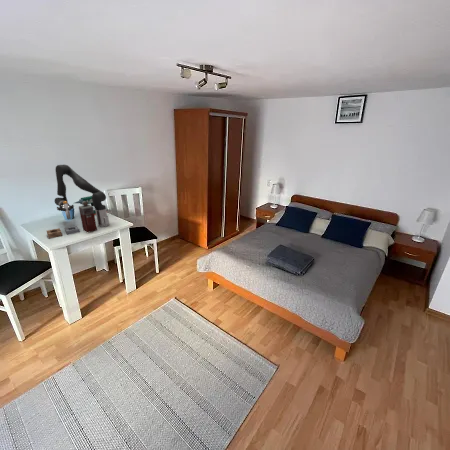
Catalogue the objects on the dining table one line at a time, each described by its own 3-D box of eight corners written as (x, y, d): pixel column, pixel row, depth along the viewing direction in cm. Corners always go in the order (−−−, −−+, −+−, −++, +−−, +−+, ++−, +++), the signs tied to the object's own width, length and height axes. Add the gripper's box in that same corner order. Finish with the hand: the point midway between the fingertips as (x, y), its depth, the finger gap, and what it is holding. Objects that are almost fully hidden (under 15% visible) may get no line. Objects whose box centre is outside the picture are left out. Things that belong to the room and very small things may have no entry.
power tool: (77, 219, 254) (73, 201, 247) (74, 217, 258) (70, 199, 250) (107, 212, 278) (104, 195, 270) (103, 210, 282) (101, 194, 274)
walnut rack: (60, 232, 222) (59, 228, 221) (62, 235, 215) (61, 231, 214) (47, 234, 216) (46, 230, 215) (48, 238, 209) (47, 234, 208)
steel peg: (71, 218, 221) (68, 201, 215) (69, 219, 218) (65, 202, 212) (68, 217, 221) (64, 200, 215) (65, 219, 218) (61, 201, 212)
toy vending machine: (88, 233, 221) (82, 203, 211) (83, 230, 228) (77, 201, 218) (98, 230, 228) (92, 201, 217) (93, 227, 234) (87, 199, 224)
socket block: (77, 228, 231) (76, 225, 230) (79, 231, 224) (79, 228, 223) (65, 231, 225) (64, 228, 224) (67, 234, 218) (66, 231, 217)
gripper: (54, 202, 220) (56, 207, 208) (71, 200, 229) (75, 204, 217) (56, 210, 223) (58, 215, 211) (73, 207, 232) (77, 212, 220)
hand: (67, 209), depth 214 cm, fingers closed on steel peg, 3 cm apart
